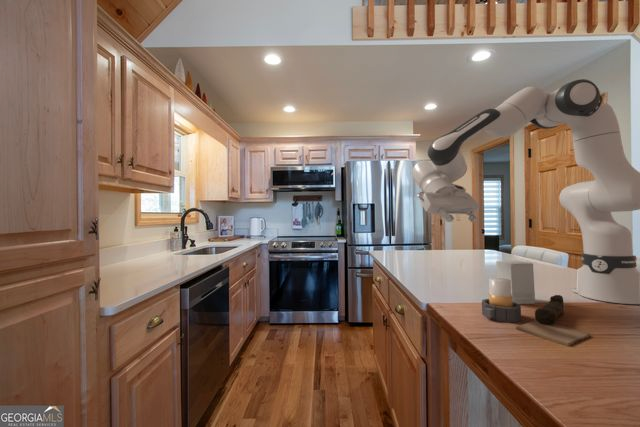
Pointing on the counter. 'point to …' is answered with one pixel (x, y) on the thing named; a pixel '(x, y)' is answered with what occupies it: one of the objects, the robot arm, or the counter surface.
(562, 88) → the robot arm
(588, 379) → the counter surface
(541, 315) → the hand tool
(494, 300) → the two-tone cylinder
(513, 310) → the collar
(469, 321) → the counter surface
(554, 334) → the walnut board
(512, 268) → the supplement box
